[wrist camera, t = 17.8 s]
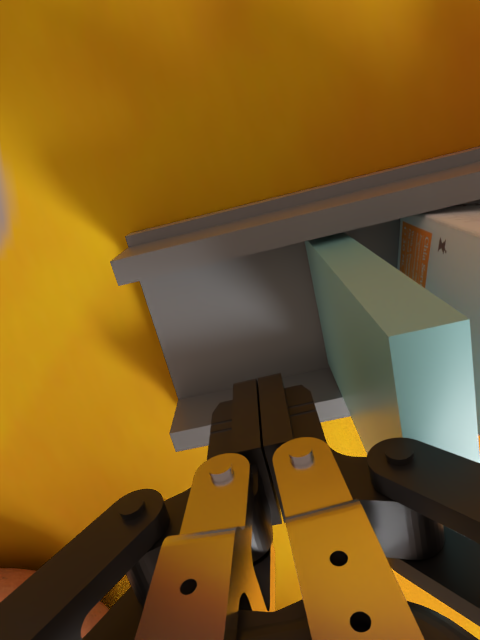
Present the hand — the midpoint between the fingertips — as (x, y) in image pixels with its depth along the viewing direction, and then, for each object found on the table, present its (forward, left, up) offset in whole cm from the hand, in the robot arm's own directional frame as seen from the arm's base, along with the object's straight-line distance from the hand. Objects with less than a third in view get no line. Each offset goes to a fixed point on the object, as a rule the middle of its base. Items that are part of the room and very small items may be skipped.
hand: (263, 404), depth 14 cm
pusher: (0, -4, -8) cm, 9 cm away
